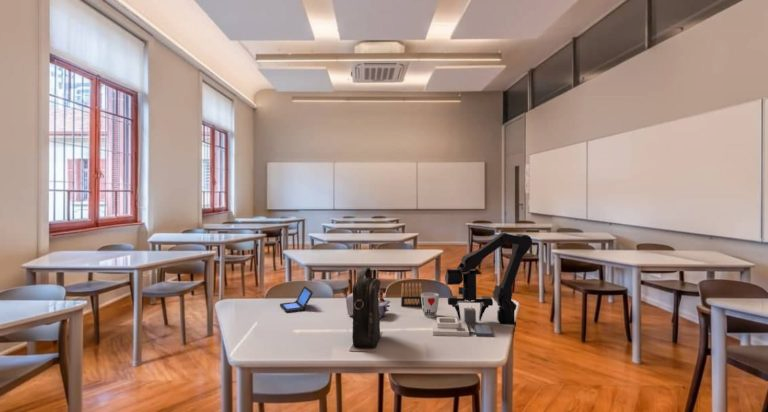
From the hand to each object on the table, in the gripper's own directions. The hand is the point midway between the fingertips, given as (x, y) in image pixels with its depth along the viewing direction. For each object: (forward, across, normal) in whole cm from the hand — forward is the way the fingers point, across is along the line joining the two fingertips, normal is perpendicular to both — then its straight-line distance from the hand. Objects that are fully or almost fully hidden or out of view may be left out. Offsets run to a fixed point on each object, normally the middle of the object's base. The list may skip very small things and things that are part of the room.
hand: (469, 320), depth 176 cm
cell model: (+2, +46, -9) cm, 46 cm away
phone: (+1, -4, +11) cm, 12 cm away
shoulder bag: (+2, +41, +26) cm, 49 cm away
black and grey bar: (+1, +1, +14) cm, 14 cm away
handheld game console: (+2, +84, -19) cm, 86 cm away
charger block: (+1, 0, 0) cm, 1 cm away
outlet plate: (+1, +9, +10) cm, 14 cm away
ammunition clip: (+2, +26, -27) cm, 38 cm away
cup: (+1, +17, -10) cm, 20 cm away
